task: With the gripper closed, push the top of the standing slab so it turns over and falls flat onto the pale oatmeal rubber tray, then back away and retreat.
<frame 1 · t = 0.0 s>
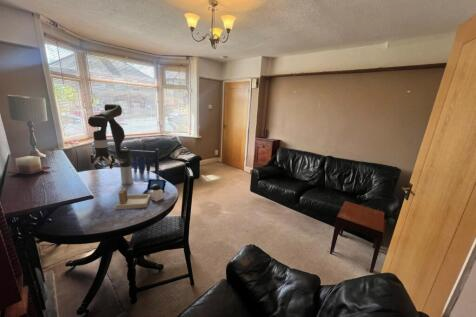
hand: (104, 168, 140), 29 cm above the table, fingers open, 8 cm apart
tray: (133, 202, 155), on the table
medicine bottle: (157, 198, 164), on the table
handheld game console: (154, 192, 176), on the table
slab: (124, 202, 154), resting on tray
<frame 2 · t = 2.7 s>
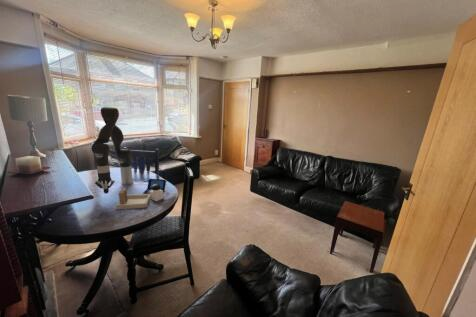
hand: (106, 193, 149), 9 cm above the table, fingers closed
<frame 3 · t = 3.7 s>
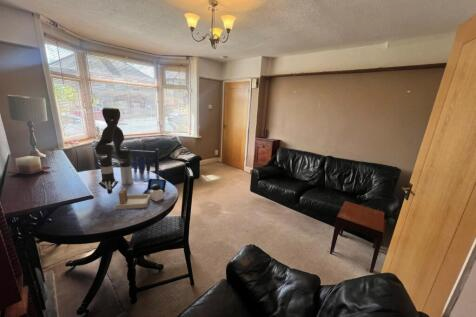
hand: (110, 193, 150), 9 cm above the table, fingers closed
nothing on the table moved.
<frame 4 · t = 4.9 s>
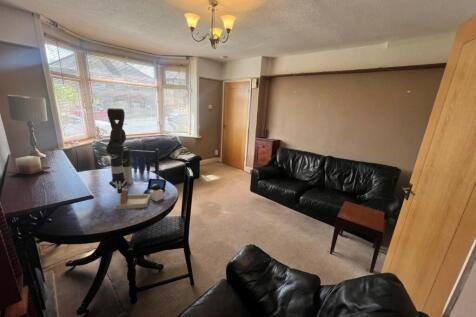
hand: (120, 193, 151), 9 cm above the table, fingers closed
slab: (124, 202, 154), point 1 cm above the table, tilted 8°, touching gripper, tray
everything else where it was.
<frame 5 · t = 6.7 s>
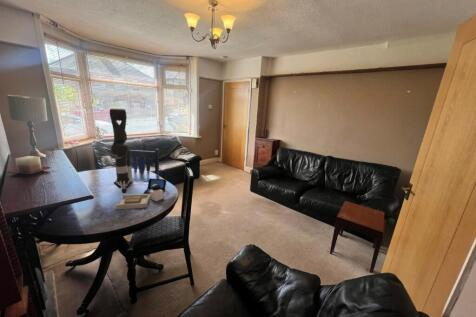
hand: (124, 192, 152), 8 cm above the table, fingers closed
slab: (126, 200, 154), point 2 cm above the table, tilted 90°, touching tray
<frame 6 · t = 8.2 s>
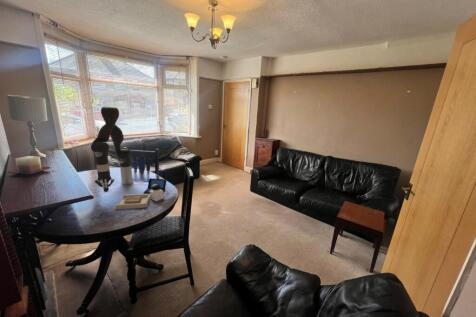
hand: (106, 191, 149), 10 cm above the table, fingers closed
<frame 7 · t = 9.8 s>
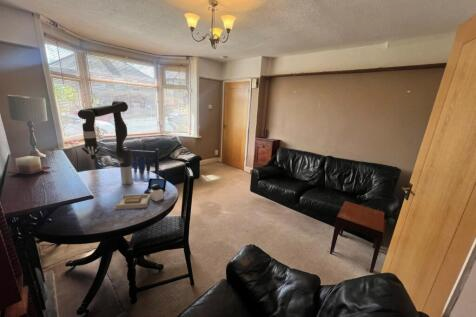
hand: (93, 159, 154), 31 cm above the table, fingers closed
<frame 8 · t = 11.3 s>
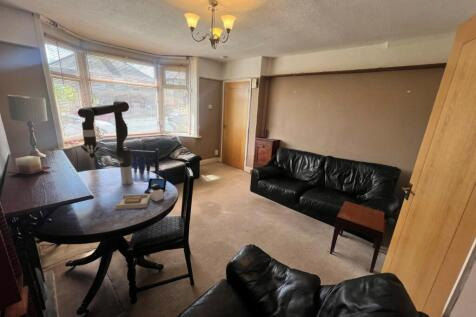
hand: (92, 157, 155), 32 cm above the table, fingers closed
at the end: slab tilted 90°; slab inside the target area (5.4 cm from its centre), point 1.9 cm above the table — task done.
